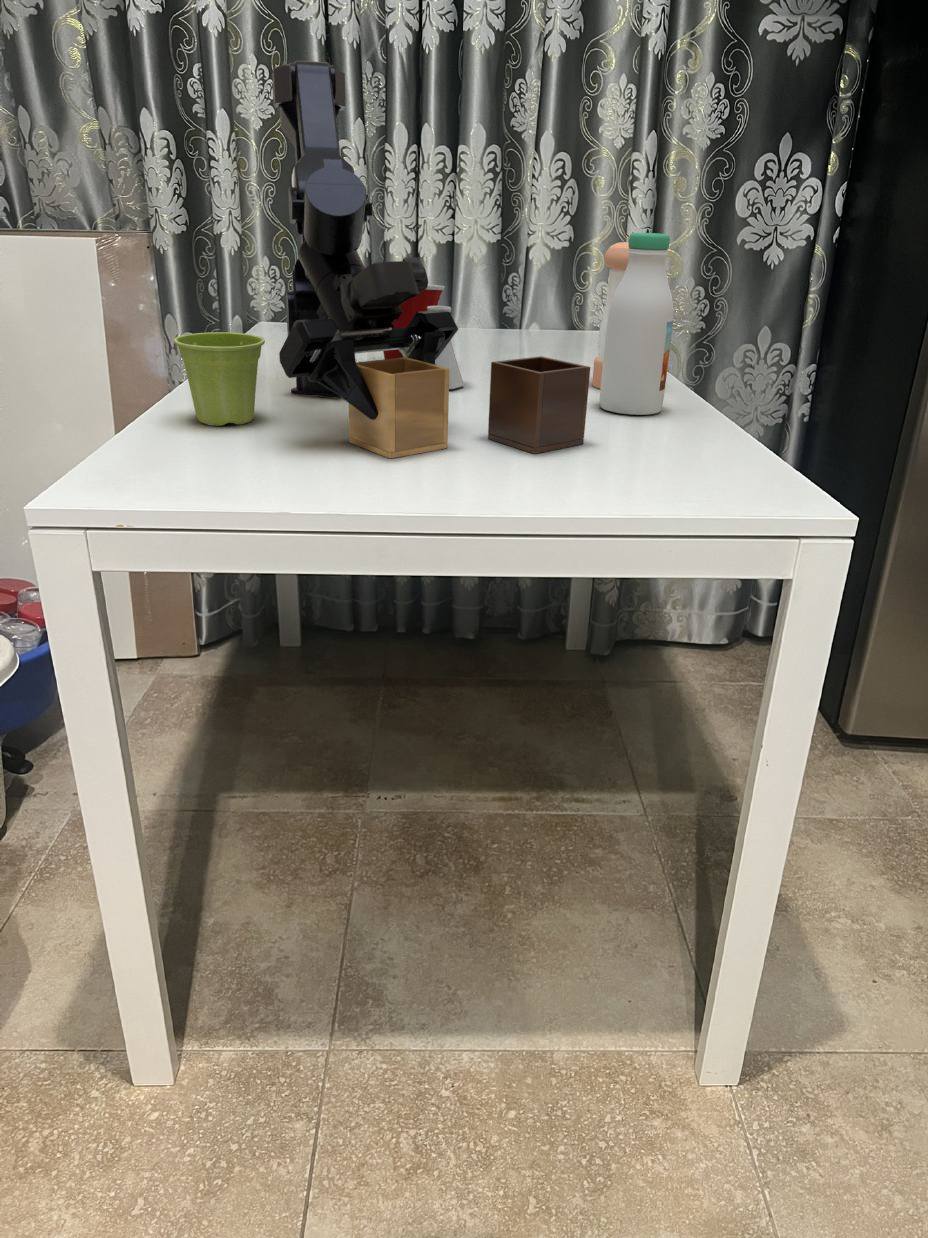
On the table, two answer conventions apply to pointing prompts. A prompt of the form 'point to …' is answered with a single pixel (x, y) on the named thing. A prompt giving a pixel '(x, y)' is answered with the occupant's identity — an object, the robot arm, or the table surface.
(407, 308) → the plastic cup
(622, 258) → the pepper shaker
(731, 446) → the table surface
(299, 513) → the table surface
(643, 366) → the milk bottle
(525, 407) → the box
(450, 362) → the flask
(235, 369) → the plant pot
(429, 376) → the light brown open box
